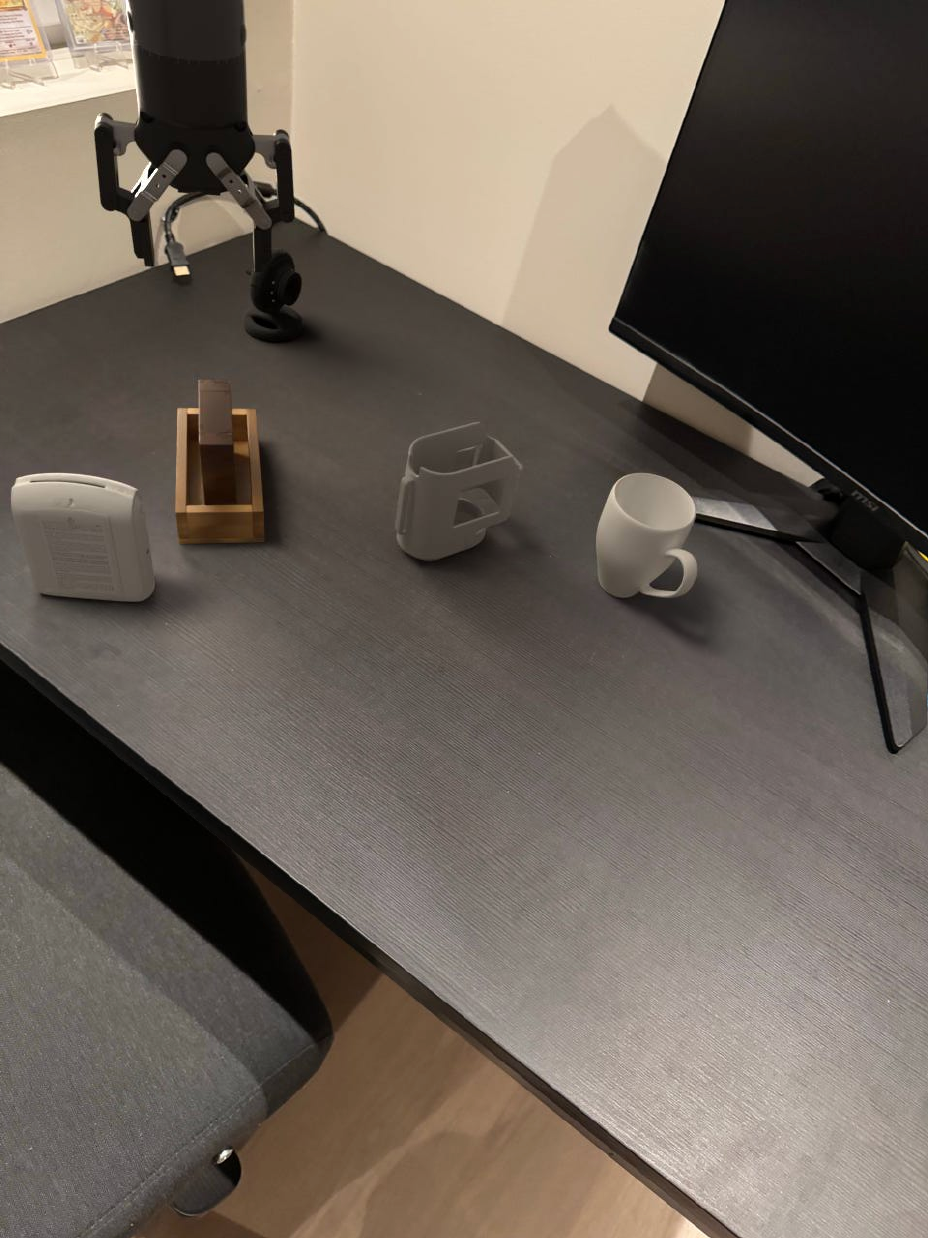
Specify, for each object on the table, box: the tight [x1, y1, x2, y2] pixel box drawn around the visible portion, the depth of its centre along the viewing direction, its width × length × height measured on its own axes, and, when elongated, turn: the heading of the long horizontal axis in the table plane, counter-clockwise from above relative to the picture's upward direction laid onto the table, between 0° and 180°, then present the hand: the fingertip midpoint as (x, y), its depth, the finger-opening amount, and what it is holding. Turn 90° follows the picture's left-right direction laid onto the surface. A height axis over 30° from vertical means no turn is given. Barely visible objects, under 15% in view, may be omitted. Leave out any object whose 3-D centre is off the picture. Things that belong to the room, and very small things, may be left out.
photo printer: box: [10, 472, 156, 603], centre depth 72 cm, size 10×4×12 cm, turn 92°
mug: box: [595, 472, 698, 599], centre depth 82 cm, size 12×8×11 cm
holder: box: [174, 407, 265, 545], centre depth 86 cm, size 8×16×4 cm, turn 11°
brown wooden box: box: [198, 379, 237, 505], centre depth 83 cm, size 3×10×9 cm, turn 12°
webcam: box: [242, 247, 304, 342], centre depth 104 cm, size 8×8×10 cm
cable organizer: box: [394, 420, 524, 562], centre depth 83 cm, size 7×12×12 cm, turn 123°
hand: (204, 264), depth 69 cm, fingers open, 8 cm apart
